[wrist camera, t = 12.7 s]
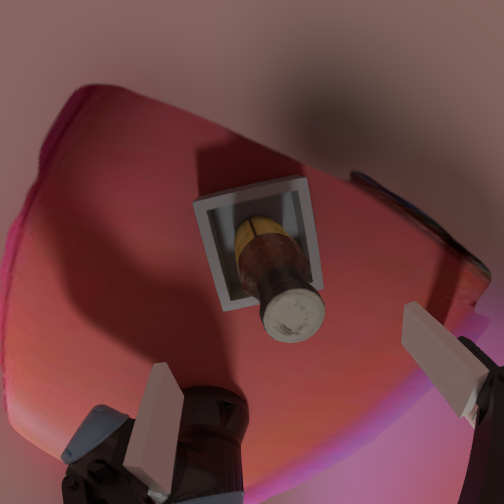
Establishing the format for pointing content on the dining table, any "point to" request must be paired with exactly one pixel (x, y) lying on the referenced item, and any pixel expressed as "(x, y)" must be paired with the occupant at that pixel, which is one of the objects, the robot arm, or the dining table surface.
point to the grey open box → (245, 206)
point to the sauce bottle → (277, 279)
